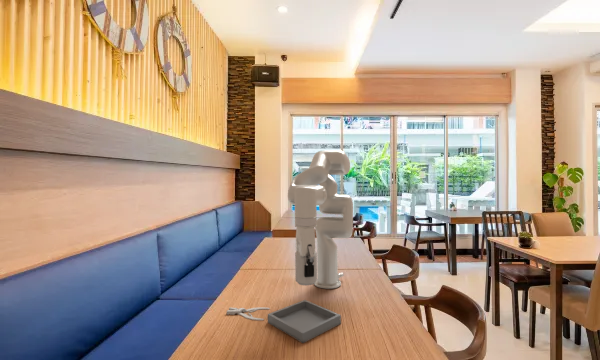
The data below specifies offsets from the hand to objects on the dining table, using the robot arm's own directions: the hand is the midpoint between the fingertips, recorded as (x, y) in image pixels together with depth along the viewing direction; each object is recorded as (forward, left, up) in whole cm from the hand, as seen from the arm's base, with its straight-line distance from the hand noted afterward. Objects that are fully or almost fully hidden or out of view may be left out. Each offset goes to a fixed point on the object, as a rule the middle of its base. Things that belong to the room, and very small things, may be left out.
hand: (306, 272), depth 106 cm
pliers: (+11, -21, -18) cm, 30 cm away
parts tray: (+1, -1, -18) cm, 18 cm away
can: (0, 0, -4) cm, 4 cm away
